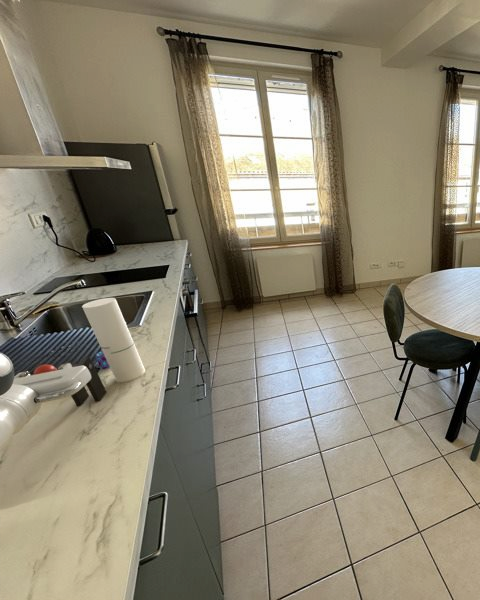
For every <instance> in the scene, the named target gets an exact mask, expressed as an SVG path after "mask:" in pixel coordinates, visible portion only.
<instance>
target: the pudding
mask: <svg viewBox="0 0 480 600" xmlns="http://www.w3.org/2000/svg"><path fill="white" fill-rule="evenodd" d="M94 361H96V362H98V363H99V368H100V369H99V370H106V369H110V366H109V364H108V362H107V360H106V358H105V355H104V353H103V351H102V350H100V351H98V352H97V353H95V355H94Z"/></svg>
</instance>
